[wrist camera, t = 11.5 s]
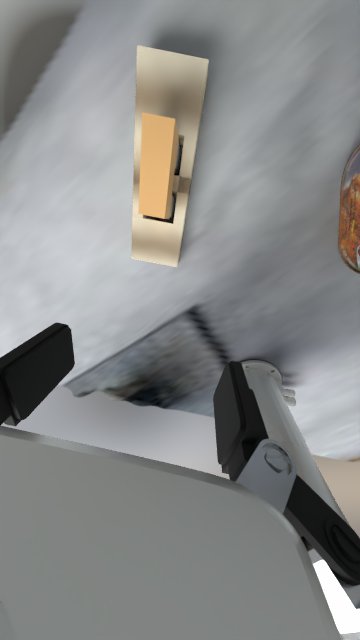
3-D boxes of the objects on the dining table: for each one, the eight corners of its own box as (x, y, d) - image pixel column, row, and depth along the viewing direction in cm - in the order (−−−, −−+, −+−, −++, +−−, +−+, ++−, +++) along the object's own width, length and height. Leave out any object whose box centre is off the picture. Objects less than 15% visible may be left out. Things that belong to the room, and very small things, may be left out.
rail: (144, 68, 20) (137, 45, 17) (207, 80, 20) (208, 59, 17) (137, 255, 30) (131, 258, 27) (178, 262, 30) (177, 267, 27)
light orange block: (157, 143, 23) (142, 112, 16) (181, 148, 23) (175, 118, 16) (152, 215, 27) (138, 213, 20) (172, 219, 27) (164, 218, 20)
